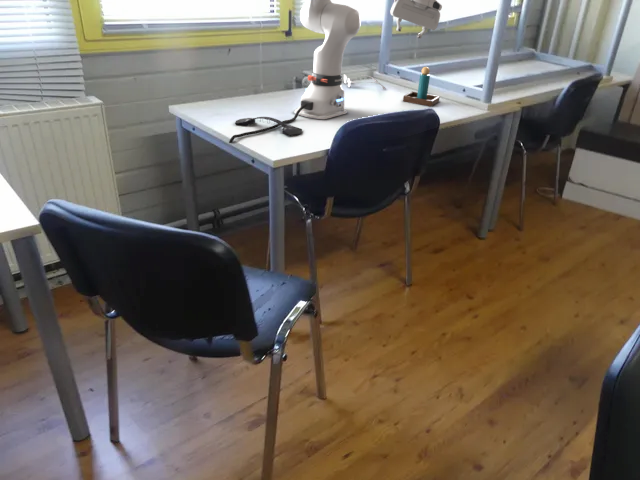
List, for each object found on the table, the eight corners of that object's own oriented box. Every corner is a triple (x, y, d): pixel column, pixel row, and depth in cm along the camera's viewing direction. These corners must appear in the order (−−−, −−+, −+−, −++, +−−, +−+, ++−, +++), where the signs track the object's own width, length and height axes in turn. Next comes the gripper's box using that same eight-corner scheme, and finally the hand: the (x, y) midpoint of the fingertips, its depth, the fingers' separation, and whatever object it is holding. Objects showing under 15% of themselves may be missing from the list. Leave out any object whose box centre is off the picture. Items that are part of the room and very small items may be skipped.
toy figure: (424, 101, 244) (429, 68, 237) (415, 100, 245) (419, 66, 238) (427, 100, 247) (432, 66, 240) (418, 98, 249) (423, 65, 242)
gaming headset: (293, 137, 186) (293, 127, 184) (231, 124, 193) (230, 114, 192) (305, 131, 193) (306, 121, 192) (245, 118, 201) (245, 109, 199)
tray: (431, 106, 240) (432, 101, 239) (402, 101, 244) (403, 95, 243) (439, 101, 249) (439, 96, 248) (411, 96, 253) (412, 91, 252)
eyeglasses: (342, 81, 269) (343, 73, 267) (377, 82, 273) (378, 74, 271) (349, 89, 256) (350, 80, 254) (386, 90, 261) (387, 81, 259)
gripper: (400, -10, 208) (387, 28, 215) (445, 7, 216) (432, 43, 223) (394, -12, 213) (383, 25, 220) (439, 5, 221) (427, 40, 228)
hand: (408, 34), depth 221 cm, fingers open, 8 cm apart
